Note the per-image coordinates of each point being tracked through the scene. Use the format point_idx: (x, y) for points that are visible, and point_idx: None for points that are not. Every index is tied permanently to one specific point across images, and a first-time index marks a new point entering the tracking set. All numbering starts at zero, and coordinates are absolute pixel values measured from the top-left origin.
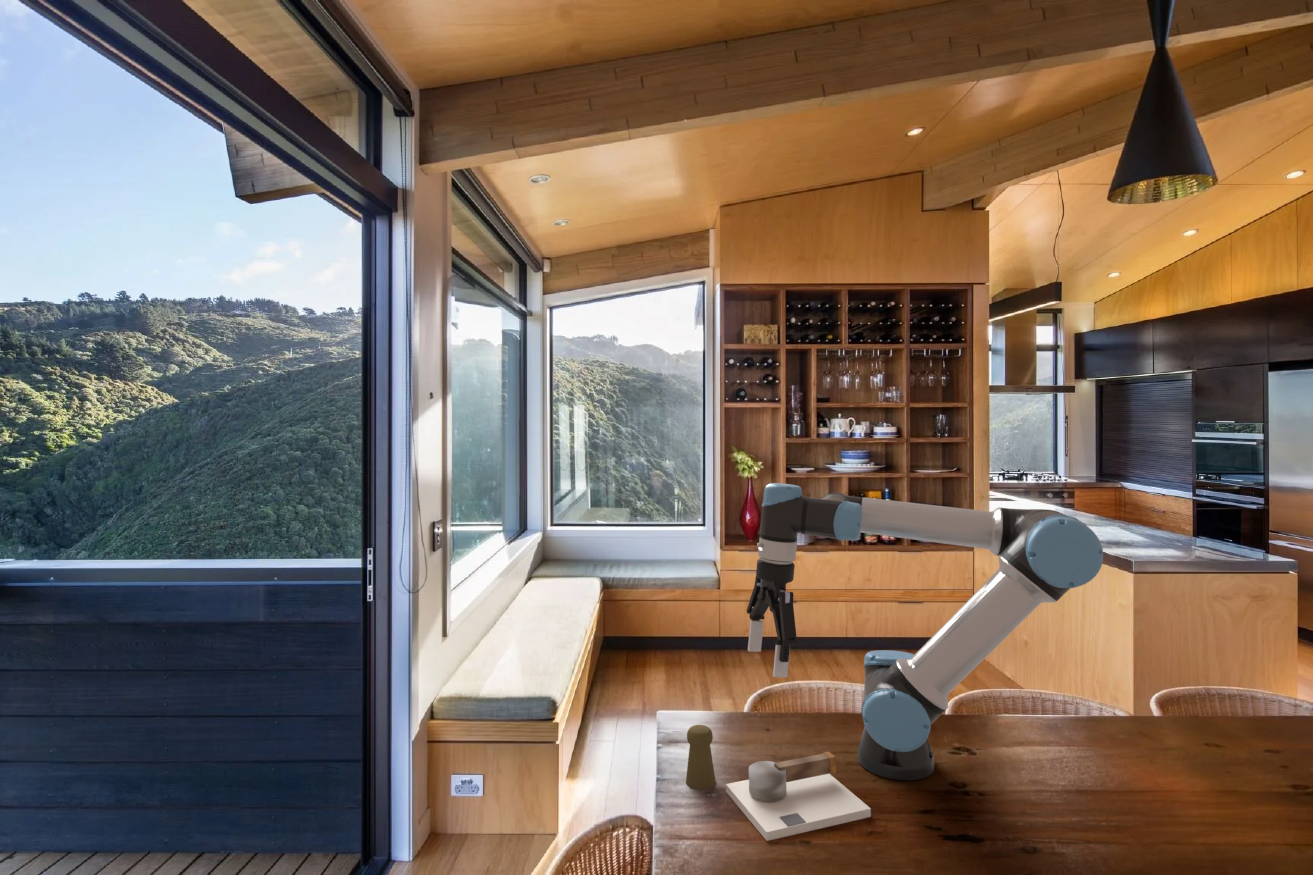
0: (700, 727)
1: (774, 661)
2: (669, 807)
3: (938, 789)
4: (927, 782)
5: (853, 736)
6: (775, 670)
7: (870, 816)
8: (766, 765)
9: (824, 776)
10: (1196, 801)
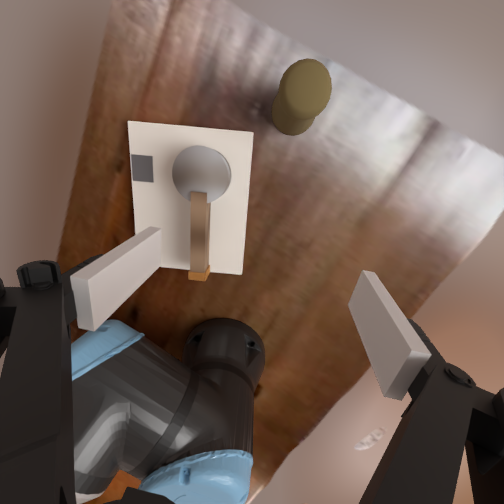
0: (306, 88)
1: (134, 245)
2: (251, 24)
3: (164, 349)
4: (179, 350)
5: (297, 355)
6: (139, 234)
7: None
8: (212, 182)
9: (216, 263)
10: None
